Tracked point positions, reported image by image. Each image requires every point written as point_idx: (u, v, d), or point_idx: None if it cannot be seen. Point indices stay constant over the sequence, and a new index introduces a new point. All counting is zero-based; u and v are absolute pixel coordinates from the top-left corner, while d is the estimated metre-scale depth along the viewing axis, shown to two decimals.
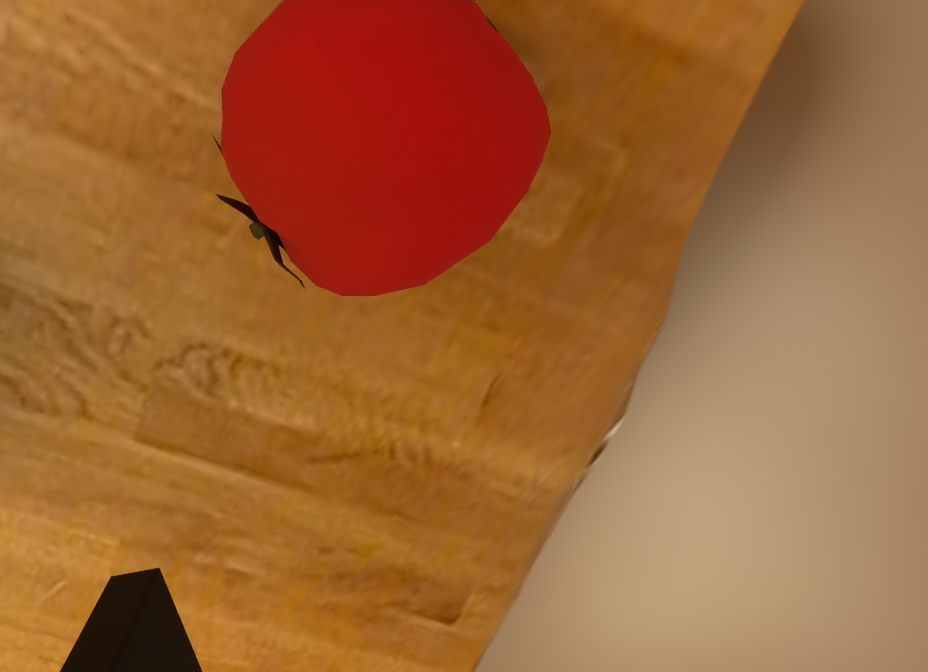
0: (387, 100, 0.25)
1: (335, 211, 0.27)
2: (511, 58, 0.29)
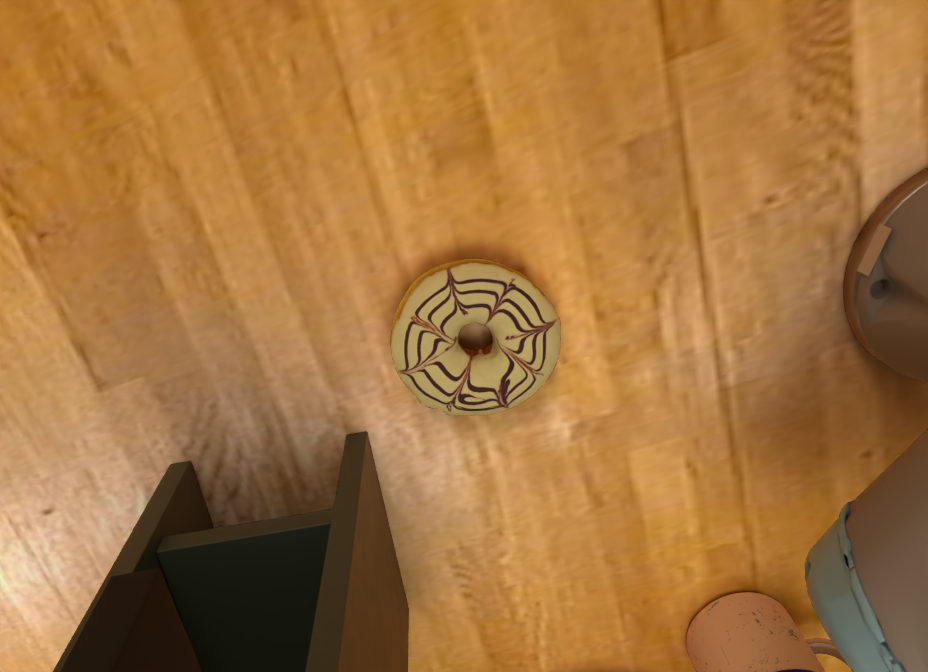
0: None
1: None
2: None
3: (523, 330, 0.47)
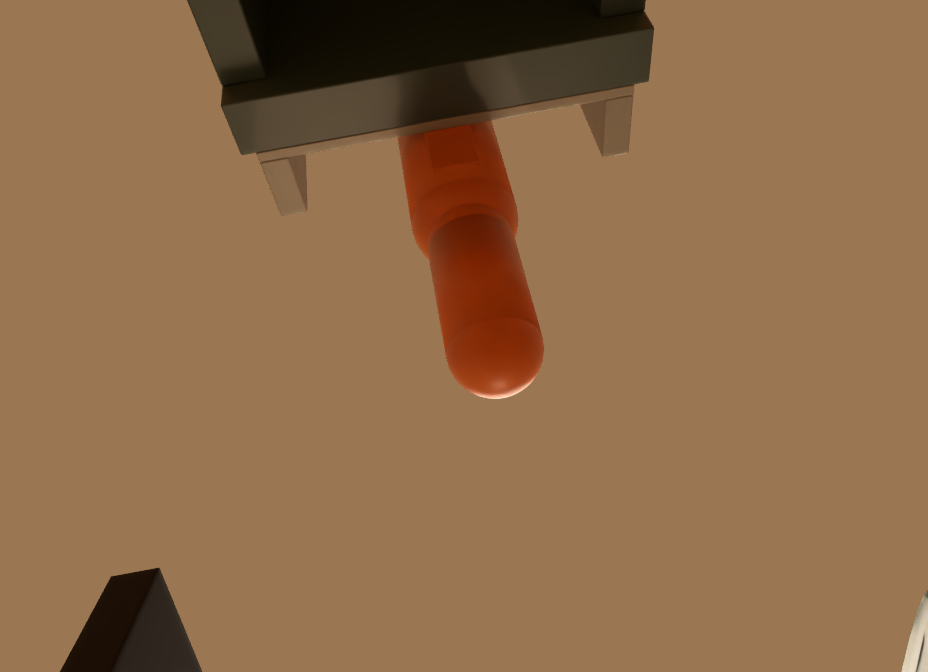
0: None
1: None
2: None
3: None
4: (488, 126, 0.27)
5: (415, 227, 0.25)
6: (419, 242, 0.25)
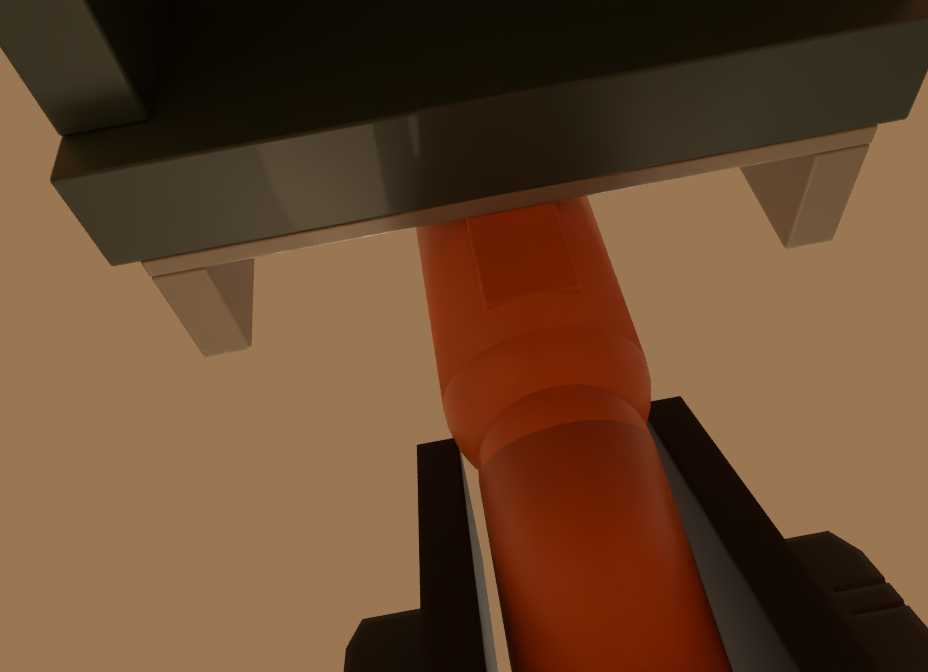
0: None
1: None
2: None
3: None
4: (582, 198, 0.15)
5: (451, 415, 0.13)
6: (458, 442, 0.13)
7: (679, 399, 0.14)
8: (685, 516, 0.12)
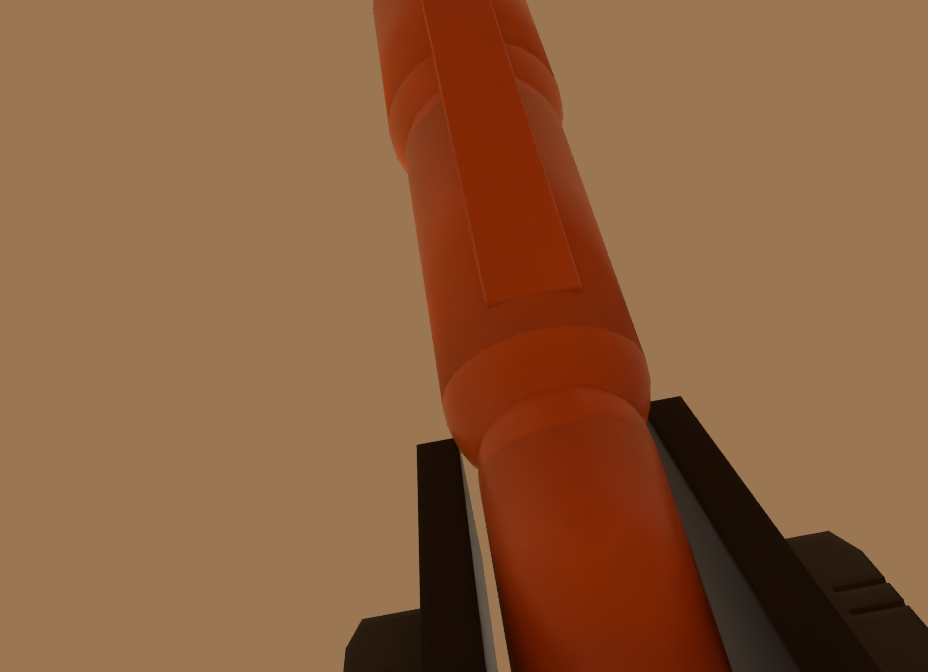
0: None
1: None
2: None
3: None
4: (582, 197, 0.15)
5: (450, 414, 0.13)
6: (457, 441, 0.13)
7: (679, 399, 0.14)
8: (685, 516, 0.12)
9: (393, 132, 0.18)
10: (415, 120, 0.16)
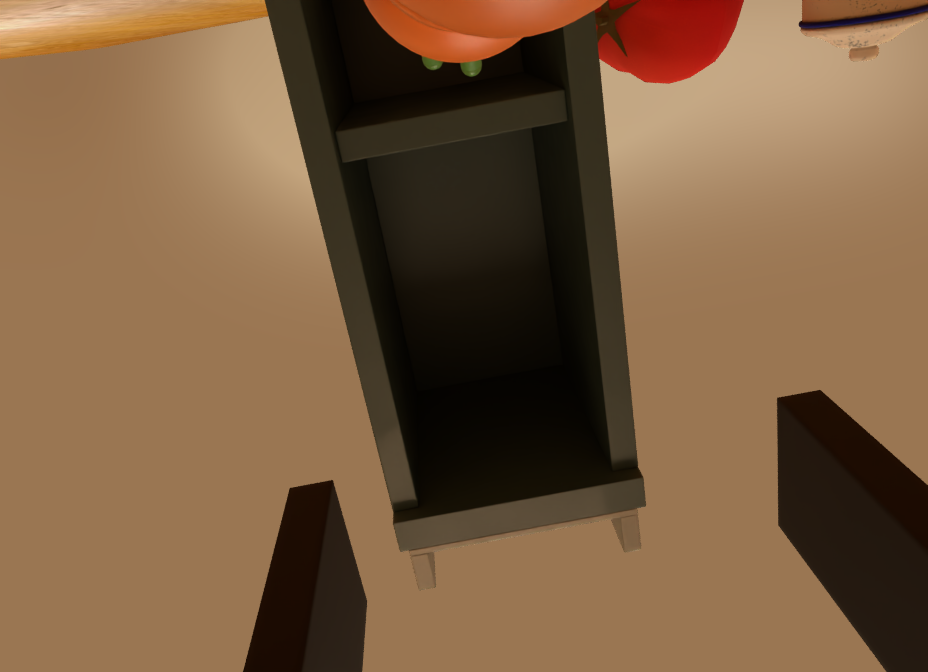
0: None
1: None
2: None
3: None
4: None
5: None
6: None
7: (819, 393, 0.13)
8: (848, 515, 0.11)
9: None
10: None
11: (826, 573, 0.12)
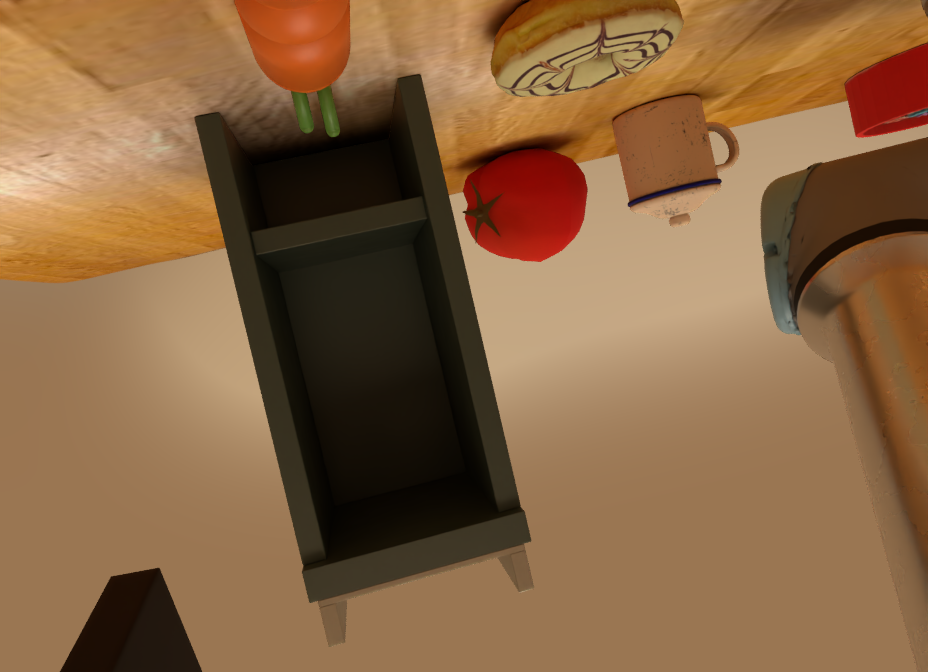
0: None
1: None
2: None
3: (646, 57, 0.42)
4: None
5: None
6: None
7: None
8: None
9: None
10: None
11: None
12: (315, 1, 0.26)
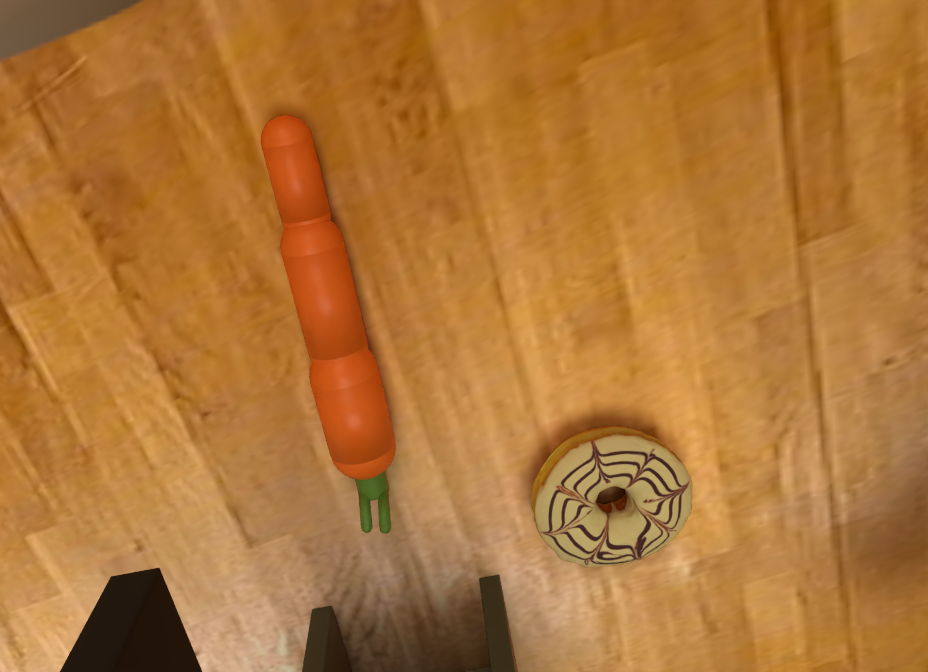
0: None
1: None
2: None
3: (661, 495, 0.49)
4: None
5: None
6: None
7: None
8: None
9: None
10: None
11: None
12: (346, 356, 0.44)
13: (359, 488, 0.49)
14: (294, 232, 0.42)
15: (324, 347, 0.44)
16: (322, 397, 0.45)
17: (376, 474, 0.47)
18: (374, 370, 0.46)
